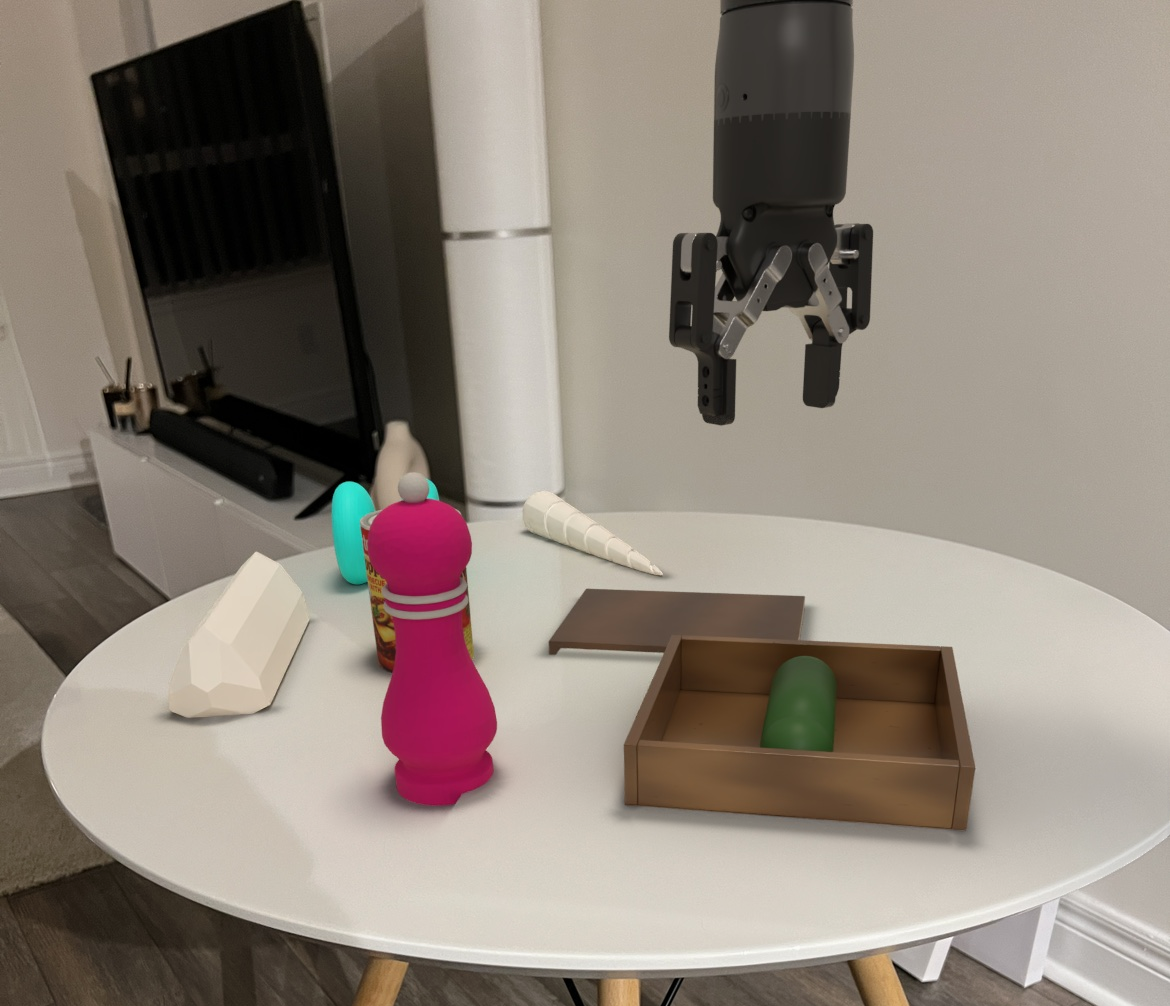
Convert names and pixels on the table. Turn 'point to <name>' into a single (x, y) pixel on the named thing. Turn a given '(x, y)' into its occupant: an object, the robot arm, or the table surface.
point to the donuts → (354, 528)
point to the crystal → (241, 644)
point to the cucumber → (801, 707)
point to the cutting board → (673, 619)
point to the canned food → (384, 620)
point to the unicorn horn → (579, 531)
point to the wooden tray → (798, 777)
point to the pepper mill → (430, 650)
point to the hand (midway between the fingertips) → (770, 414)
